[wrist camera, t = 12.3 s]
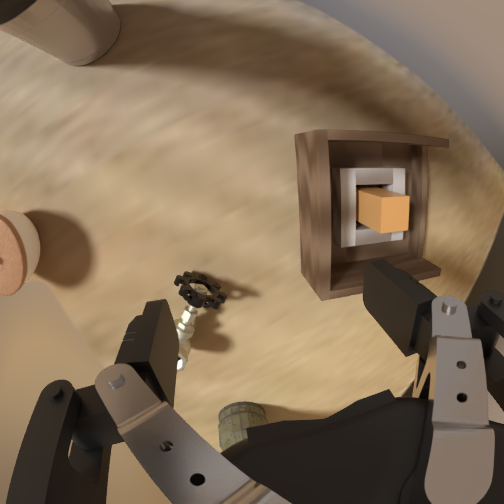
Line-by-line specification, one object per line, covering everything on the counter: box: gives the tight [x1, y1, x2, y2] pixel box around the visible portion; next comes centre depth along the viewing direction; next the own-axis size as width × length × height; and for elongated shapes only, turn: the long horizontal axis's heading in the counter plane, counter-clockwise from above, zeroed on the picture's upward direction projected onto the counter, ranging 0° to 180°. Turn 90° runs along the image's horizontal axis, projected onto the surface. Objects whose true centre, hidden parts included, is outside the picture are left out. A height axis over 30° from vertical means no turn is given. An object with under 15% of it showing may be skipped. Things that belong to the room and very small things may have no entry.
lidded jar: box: [0, 210, 40, 296], centre depth 27 cm, size 11×11×9 cm
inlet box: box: [295, 130, 449, 301], centre depth 32 cm, size 18×18×8 cm
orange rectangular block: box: [356, 187, 410, 234], centre depth 32 cm, size 4×4×8 cm
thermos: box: [218, 402, 268, 451], centre depth 30 cm, size 9×12×35 cm
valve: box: [174, 271, 227, 371], centre depth 35 cm, size 7×7×12 cm
